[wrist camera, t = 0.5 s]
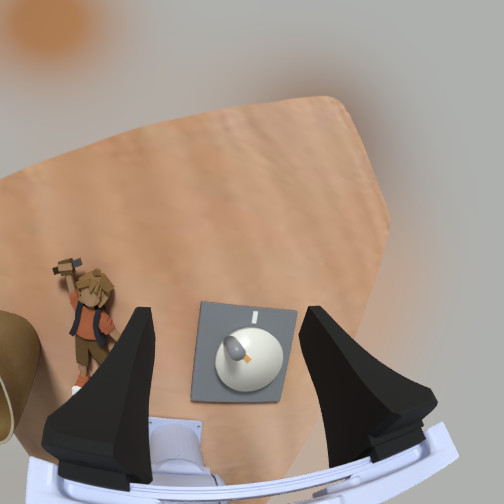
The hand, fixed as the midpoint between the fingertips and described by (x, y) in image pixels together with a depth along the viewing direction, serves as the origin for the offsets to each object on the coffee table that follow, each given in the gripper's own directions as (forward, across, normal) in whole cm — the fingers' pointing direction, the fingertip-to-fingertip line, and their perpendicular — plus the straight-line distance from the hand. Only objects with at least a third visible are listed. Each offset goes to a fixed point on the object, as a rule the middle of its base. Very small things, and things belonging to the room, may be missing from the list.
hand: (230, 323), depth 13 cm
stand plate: (+14, -5, +22) cm, 27 cm away
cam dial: (+13, -5, +22) cm, 26 cm away
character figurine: (+15, +15, +18) cm, 28 cm away
